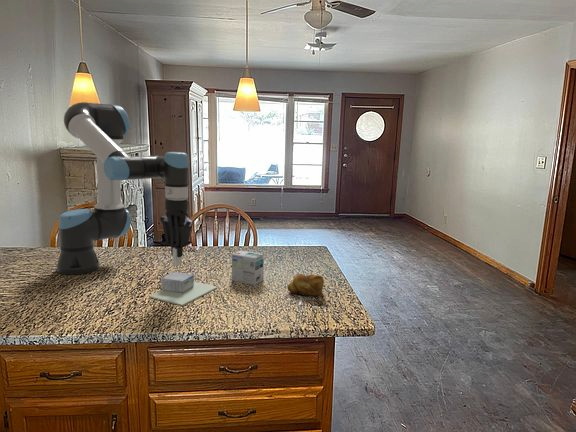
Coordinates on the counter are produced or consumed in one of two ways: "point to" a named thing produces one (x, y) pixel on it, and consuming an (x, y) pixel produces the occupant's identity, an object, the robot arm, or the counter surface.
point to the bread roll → (306, 285)
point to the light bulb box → (247, 267)
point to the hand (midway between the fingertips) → (177, 265)
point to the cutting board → (184, 294)
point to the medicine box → (177, 282)
